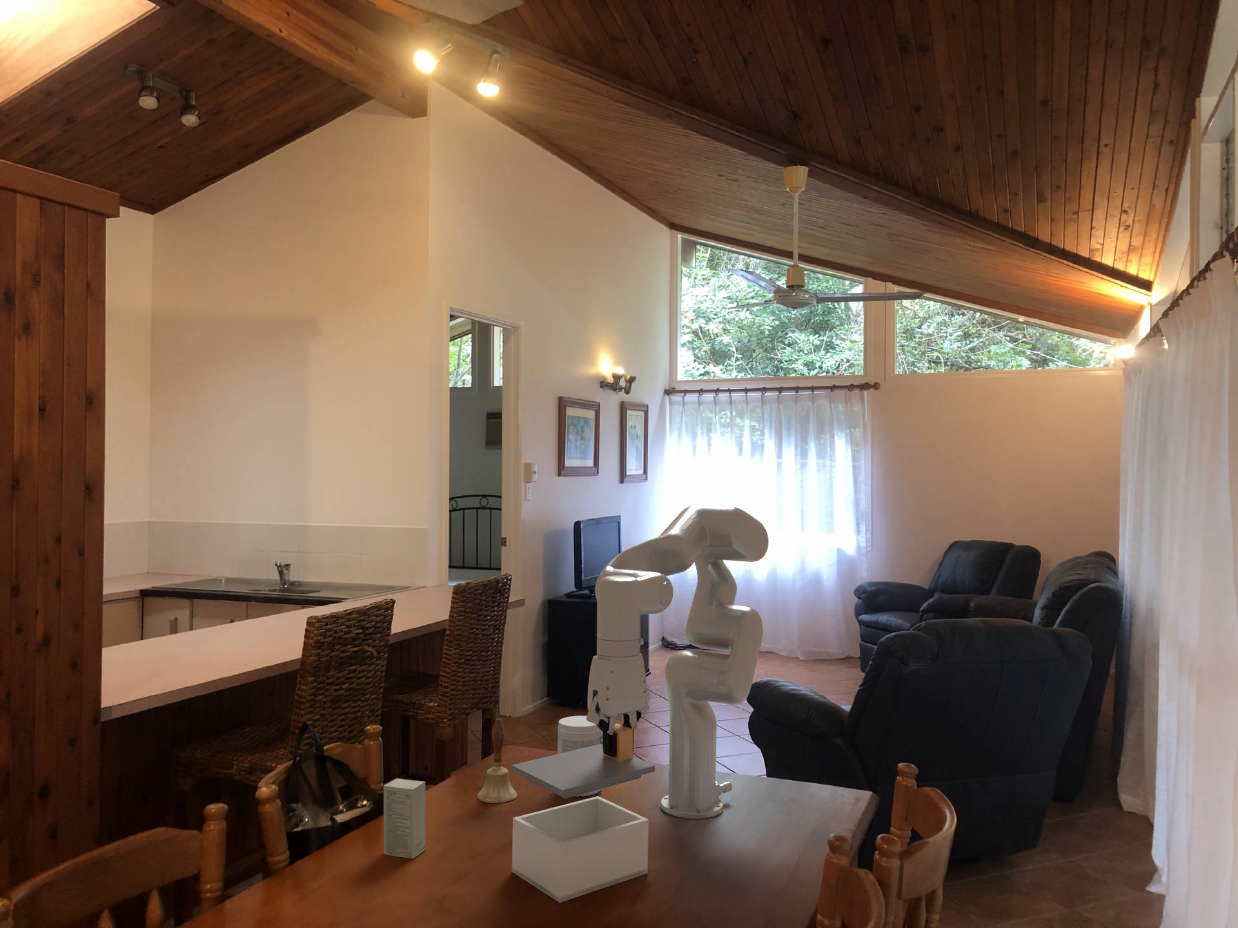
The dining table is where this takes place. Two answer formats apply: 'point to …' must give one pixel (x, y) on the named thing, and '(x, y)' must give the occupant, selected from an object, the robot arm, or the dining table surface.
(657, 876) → the dining table surface
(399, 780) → the skincare box
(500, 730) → the hand bell
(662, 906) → the dining table surface
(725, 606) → the robot arm
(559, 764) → the grey board with block
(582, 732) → the supplement tub
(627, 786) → the dining table surface
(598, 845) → the parts tub
